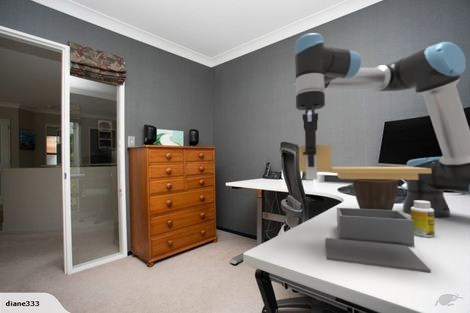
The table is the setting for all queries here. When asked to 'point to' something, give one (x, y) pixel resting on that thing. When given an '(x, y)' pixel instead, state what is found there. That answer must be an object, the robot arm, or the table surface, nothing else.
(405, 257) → the grey rubber mat
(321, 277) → the table surface
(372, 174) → the amber lid
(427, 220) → the supplement bottle
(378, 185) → the plant pot
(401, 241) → the charcoal tub
